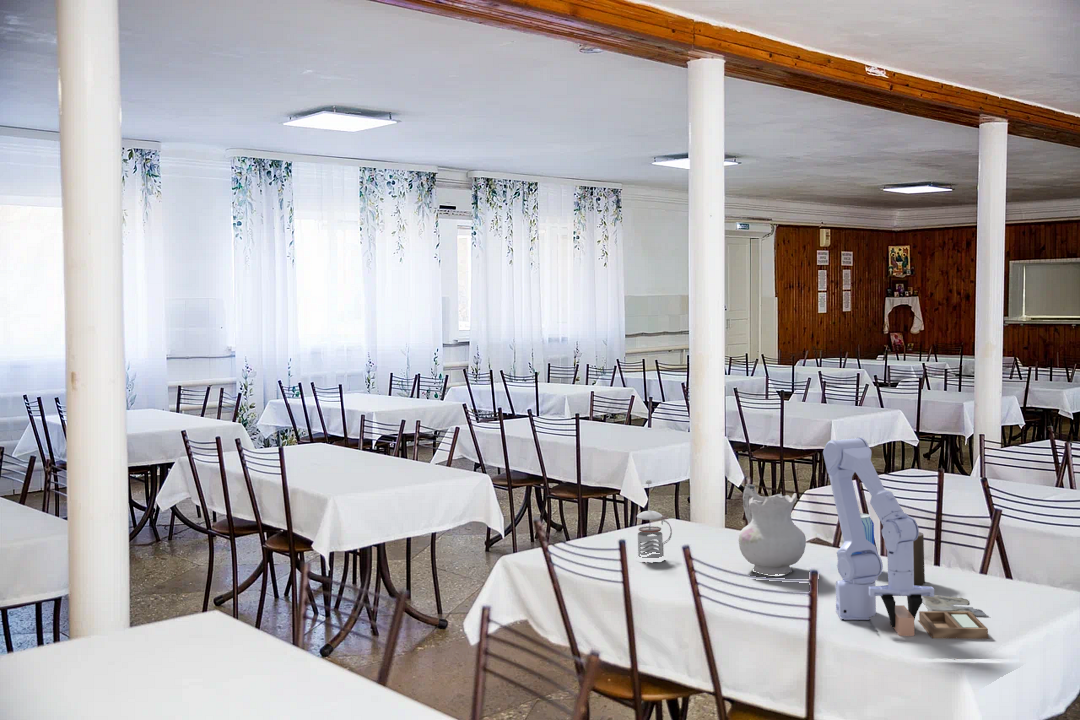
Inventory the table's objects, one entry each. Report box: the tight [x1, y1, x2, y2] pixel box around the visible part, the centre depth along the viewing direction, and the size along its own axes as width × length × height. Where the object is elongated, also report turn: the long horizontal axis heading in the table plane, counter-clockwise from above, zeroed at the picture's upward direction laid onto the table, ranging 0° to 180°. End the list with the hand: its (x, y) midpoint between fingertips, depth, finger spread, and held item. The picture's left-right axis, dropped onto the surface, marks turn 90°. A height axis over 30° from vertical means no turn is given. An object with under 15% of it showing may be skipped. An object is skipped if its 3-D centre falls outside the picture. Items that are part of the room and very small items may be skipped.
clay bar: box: [892, 604, 915, 637], centre depth 242 cm, size 3×10×5 cm, turn 173°
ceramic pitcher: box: [738, 483, 807, 575], centre depth 302 cm, size 22×20×25 cm
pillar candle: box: [886, 531, 926, 586], centre depth 285 cm, size 10×10×15 cm
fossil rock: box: [921, 594, 990, 618], centre depth 259 cm, size 18×15×2 cm
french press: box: [636, 479, 673, 558], centre depth 320 cm, size 10×12×25 cm
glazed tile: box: [951, 614, 979, 628], centre depth 240 cm, size 3×10×2 cm, turn 173°
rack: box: [917, 610, 991, 640], centre depth 240 cm, size 13×14×3 cm
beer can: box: [851, 512, 875, 555], centre depth 300 cm, size 8×8×16 cm
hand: (901, 626), depth 242 cm, fingers closed on clay bar, 3 cm apart
